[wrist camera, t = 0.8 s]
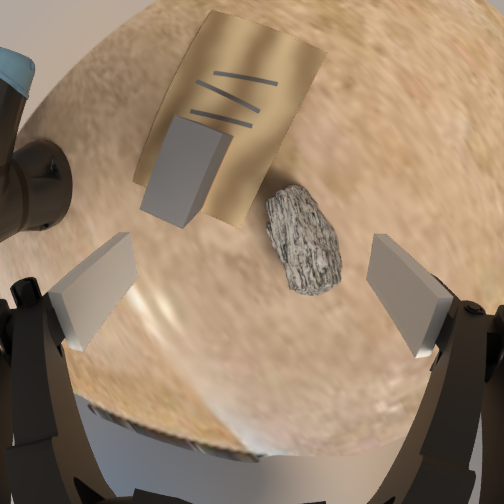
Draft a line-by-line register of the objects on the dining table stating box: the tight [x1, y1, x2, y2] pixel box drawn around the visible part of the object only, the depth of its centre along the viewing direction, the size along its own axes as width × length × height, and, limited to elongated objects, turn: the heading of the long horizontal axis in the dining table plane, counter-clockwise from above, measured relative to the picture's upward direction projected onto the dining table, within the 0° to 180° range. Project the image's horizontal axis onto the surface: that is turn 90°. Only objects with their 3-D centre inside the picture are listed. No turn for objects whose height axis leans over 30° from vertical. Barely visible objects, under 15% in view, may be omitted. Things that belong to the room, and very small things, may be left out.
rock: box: [266, 185, 342, 296], centre depth 33 cm, size 16×8×10 cm, turn 15°
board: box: [133, 10, 327, 229], centre depth 31 cm, size 16×26×1 cm, turn 155°
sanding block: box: [140, 115, 234, 229], centre depth 29 cm, size 10×5×9 cm, turn 155°
